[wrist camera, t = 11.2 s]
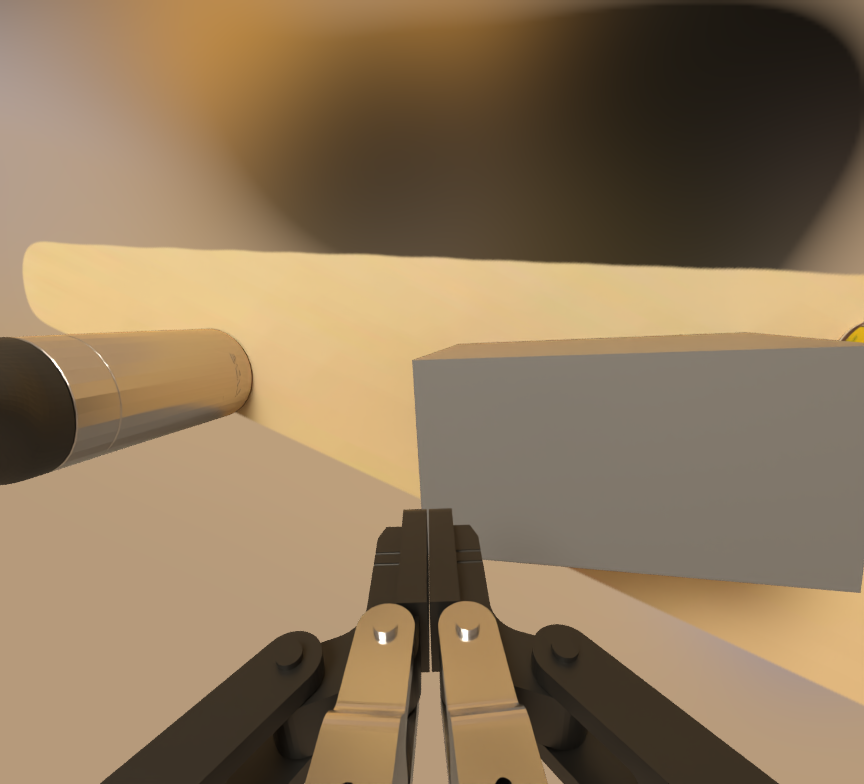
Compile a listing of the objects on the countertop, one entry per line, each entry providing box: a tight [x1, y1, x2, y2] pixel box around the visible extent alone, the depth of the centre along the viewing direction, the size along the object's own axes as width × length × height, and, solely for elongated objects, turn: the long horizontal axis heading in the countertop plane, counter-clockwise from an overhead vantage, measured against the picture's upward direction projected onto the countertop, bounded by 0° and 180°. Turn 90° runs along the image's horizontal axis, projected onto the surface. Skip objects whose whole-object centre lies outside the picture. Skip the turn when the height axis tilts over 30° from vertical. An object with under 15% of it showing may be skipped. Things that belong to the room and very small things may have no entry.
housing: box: [412, 332, 864, 593], centre depth 29 cm, size 23×12×14 cm, turn 93°
